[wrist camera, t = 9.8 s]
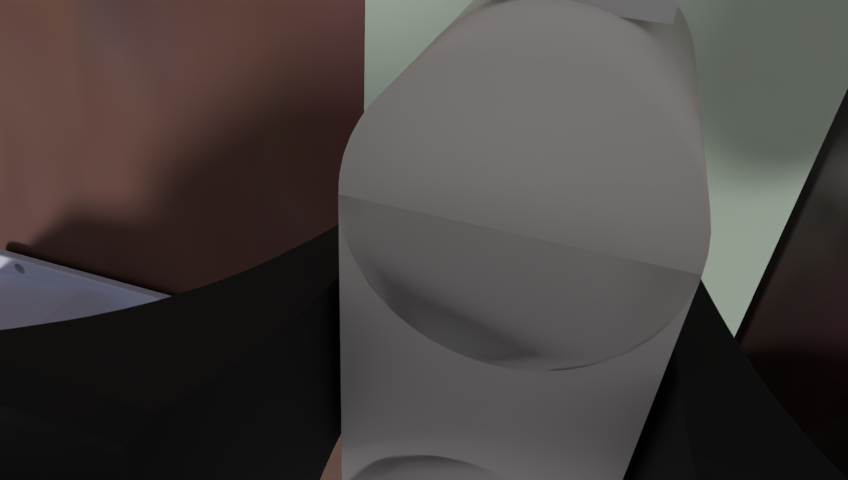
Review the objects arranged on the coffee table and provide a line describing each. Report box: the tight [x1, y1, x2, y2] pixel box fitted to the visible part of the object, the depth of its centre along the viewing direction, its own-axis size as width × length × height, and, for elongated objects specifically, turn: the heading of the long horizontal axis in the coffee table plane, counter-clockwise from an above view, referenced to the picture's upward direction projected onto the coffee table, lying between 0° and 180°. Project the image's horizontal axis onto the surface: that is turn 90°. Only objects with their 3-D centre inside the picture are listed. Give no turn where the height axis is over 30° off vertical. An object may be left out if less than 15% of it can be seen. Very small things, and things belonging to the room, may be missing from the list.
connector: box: [338, 0, 711, 480], centre depth 10 cm, size 4×13×5 cm, turn 176°
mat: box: [364, 0, 848, 337], centre depth 18 cm, size 12×16×1 cm
